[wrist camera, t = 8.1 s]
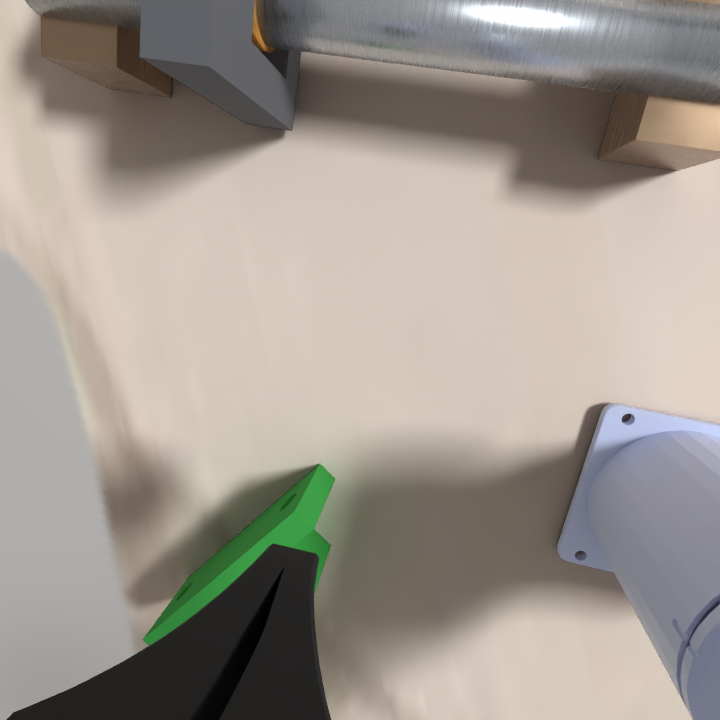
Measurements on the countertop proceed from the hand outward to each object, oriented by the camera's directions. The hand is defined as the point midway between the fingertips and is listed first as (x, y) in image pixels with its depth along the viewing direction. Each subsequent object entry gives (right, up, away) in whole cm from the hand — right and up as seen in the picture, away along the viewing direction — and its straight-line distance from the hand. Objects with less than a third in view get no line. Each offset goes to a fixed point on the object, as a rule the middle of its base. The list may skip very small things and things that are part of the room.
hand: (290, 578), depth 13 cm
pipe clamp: (-3, -4, +13) cm, 14 cm away
